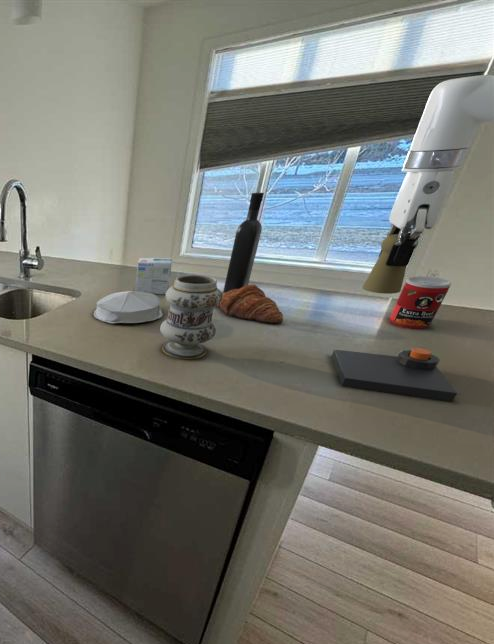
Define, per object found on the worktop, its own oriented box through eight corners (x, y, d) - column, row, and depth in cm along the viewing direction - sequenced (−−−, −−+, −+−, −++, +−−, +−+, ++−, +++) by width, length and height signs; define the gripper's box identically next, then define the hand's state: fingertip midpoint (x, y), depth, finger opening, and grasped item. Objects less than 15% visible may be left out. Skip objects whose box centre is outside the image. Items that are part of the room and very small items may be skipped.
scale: (426, 367, 85) (434, 352, 83) (452, 401, 74) (462, 385, 72) (330, 356, 92) (336, 342, 90) (341, 386, 81) (348, 370, 80)
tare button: (425, 355, 83) (429, 349, 82) (430, 361, 81) (433, 354, 80) (407, 354, 84) (410, 347, 83) (411, 359, 82) (414, 352, 81)
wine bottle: (221, 295, 131) (243, 194, 116) (228, 290, 134) (250, 191, 119) (240, 298, 128) (265, 194, 113) (246, 293, 131) (272, 191, 116)
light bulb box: (168, 288, 141) (173, 257, 135) (167, 295, 135) (172, 262, 130) (136, 287, 145) (139, 257, 139) (133, 293, 140) (137, 261, 134)
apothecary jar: (190, 337, 106) (203, 269, 97) (221, 357, 96) (240, 282, 87) (148, 344, 105) (157, 275, 96) (174, 364, 94) (188, 289, 85)
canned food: (390, 326, 102) (409, 283, 97) (386, 315, 108) (404, 275, 102) (432, 331, 98) (455, 287, 93) (426, 320, 104) (447, 277, 98)
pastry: (276, 306, 119) (284, 280, 115) (282, 325, 108) (291, 296, 104) (212, 302, 127) (218, 276, 123) (211, 319, 115) (217, 292, 111)
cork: (358, 284, 89) (378, 231, 83) (395, 285, 86) (418, 231, 81) (366, 292, 84) (387, 237, 79) (405, 294, 81) (429, 237, 76)
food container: (155, 330, 112) (159, 306, 109) (85, 321, 121) (86, 300, 118) (167, 306, 127) (170, 285, 123) (103, 300, 136) (105, 280, 132)
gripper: (482, 162, 65) (430, 274, 74) (445, 156, 78) (405, 252, 87) (418, 166, 69) (377, 272, 78) (393, 159, 81) (360, 252, 90)
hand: (392, 261), depth 82 cm, fingers closed on cork, 5 cm apart
